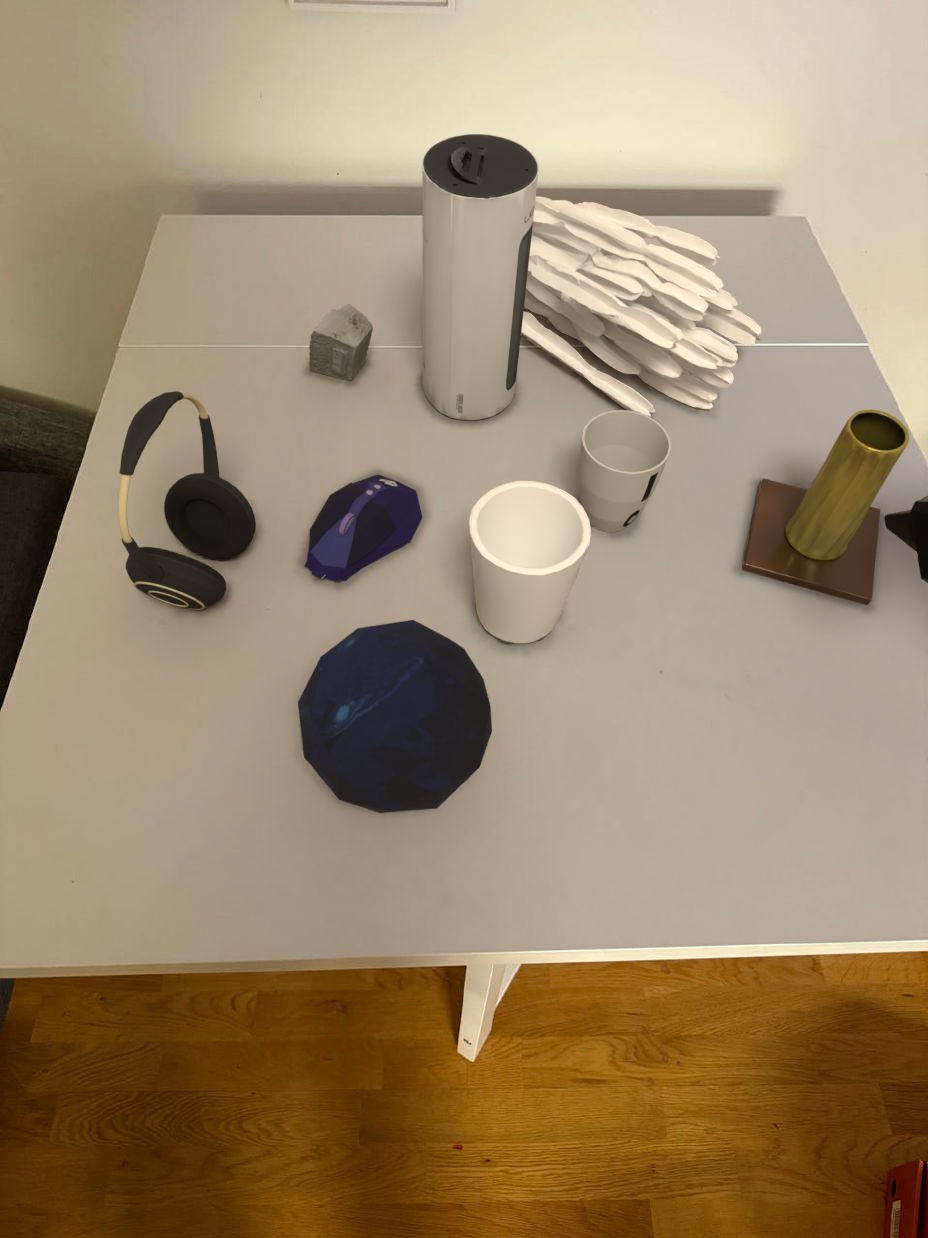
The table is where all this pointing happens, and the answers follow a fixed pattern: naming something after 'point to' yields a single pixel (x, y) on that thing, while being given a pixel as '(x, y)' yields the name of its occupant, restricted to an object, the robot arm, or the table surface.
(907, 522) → the robot arm
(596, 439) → the cup
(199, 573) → the headphones
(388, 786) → the decorative orb
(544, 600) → the cup
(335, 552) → the computer mouse
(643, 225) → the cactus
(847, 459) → the vase
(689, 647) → the table surface
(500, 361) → the speaker
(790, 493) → the serving board
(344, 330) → the grey stone block
